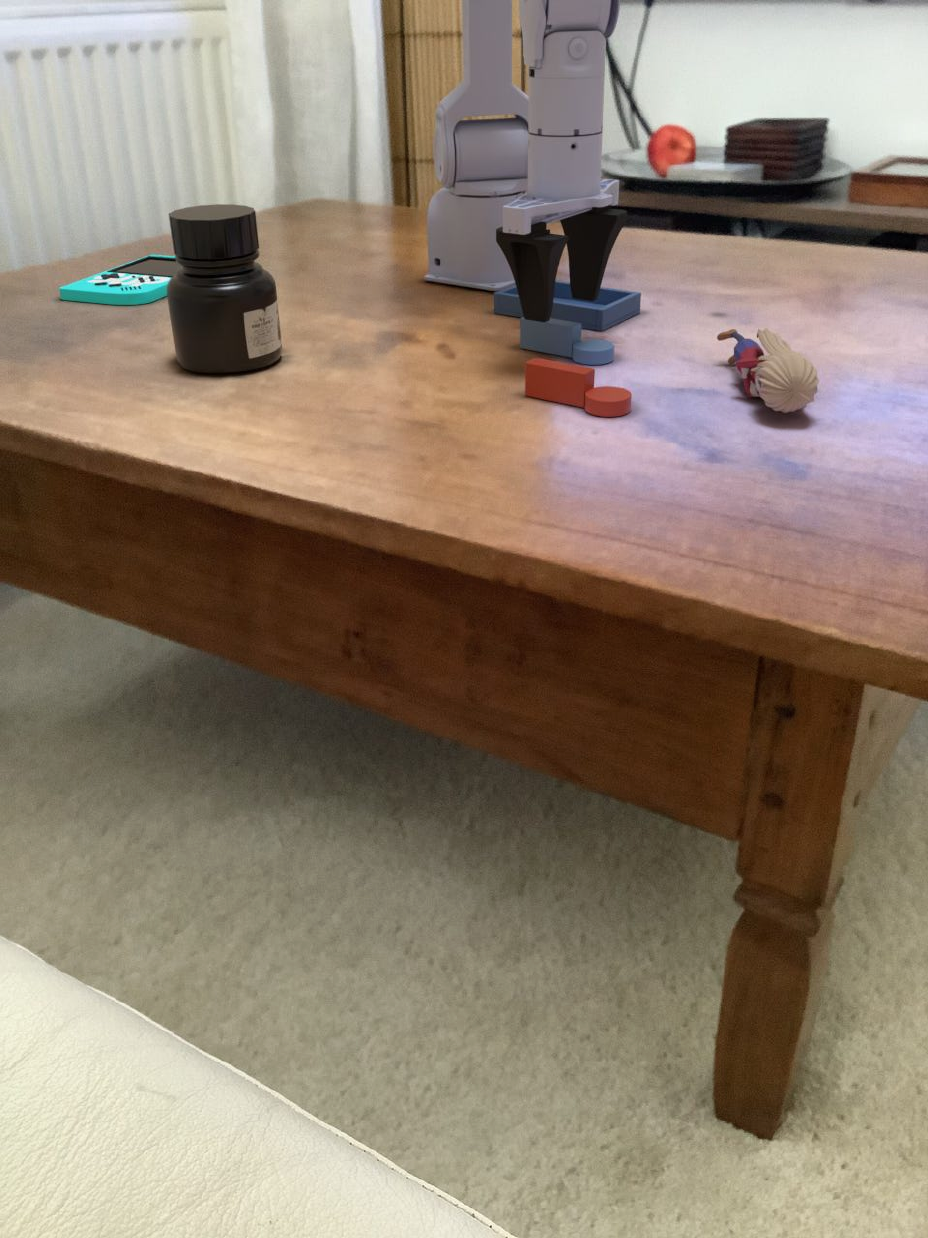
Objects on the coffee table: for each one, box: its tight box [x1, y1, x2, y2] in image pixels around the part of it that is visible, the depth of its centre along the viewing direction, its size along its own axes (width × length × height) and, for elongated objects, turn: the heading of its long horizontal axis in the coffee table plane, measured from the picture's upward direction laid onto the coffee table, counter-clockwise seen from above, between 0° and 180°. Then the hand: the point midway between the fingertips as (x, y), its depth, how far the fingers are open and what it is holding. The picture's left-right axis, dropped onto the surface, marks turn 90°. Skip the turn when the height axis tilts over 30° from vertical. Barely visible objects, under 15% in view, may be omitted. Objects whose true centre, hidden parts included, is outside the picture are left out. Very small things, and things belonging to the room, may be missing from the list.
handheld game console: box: [58, 254, 182, 306], centre depth 119 cm, size 10×16×1 cm, turn 158°
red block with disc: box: [524, 357, 633, 418], centre depth 84 cm, size 8×3×3 cm, turn 54°
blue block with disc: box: [519, 317, 615, 366], centre depth 95 cm, size 8×3×3 cm, turn 54°
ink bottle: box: [166, 203, 283, 374], centre depth 93 cm, size 10×9×12 cm
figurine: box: [716, 328, 820, 414], centre depth 85 cm, size 6×4×15 cm
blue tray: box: [493, 279, 642, 332], centre depth 106 cm, size 12×7×2 cm, turn 54°
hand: (561, 309), depth 94 cm, fingers open, 7 cm apart
